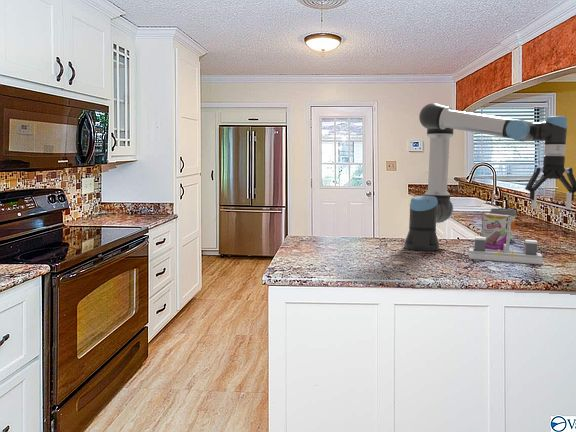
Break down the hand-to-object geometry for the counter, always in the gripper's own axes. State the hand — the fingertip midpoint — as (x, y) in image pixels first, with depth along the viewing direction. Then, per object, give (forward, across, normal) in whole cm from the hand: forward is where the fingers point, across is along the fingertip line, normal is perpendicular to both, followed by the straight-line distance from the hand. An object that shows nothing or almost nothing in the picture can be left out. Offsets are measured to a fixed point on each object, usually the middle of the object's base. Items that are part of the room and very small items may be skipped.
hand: (550, 208), depth 203 cm
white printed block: (+21, +2, +58) cm, 62 cm away
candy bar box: (+21, -15, +17) cm, 31 cm away
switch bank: (+21, -18, -2) cm, 28 cm away
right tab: (+19, -9, -4) cm, 21 cm away
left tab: (+19, -27, +1) cm, 33 cm away
